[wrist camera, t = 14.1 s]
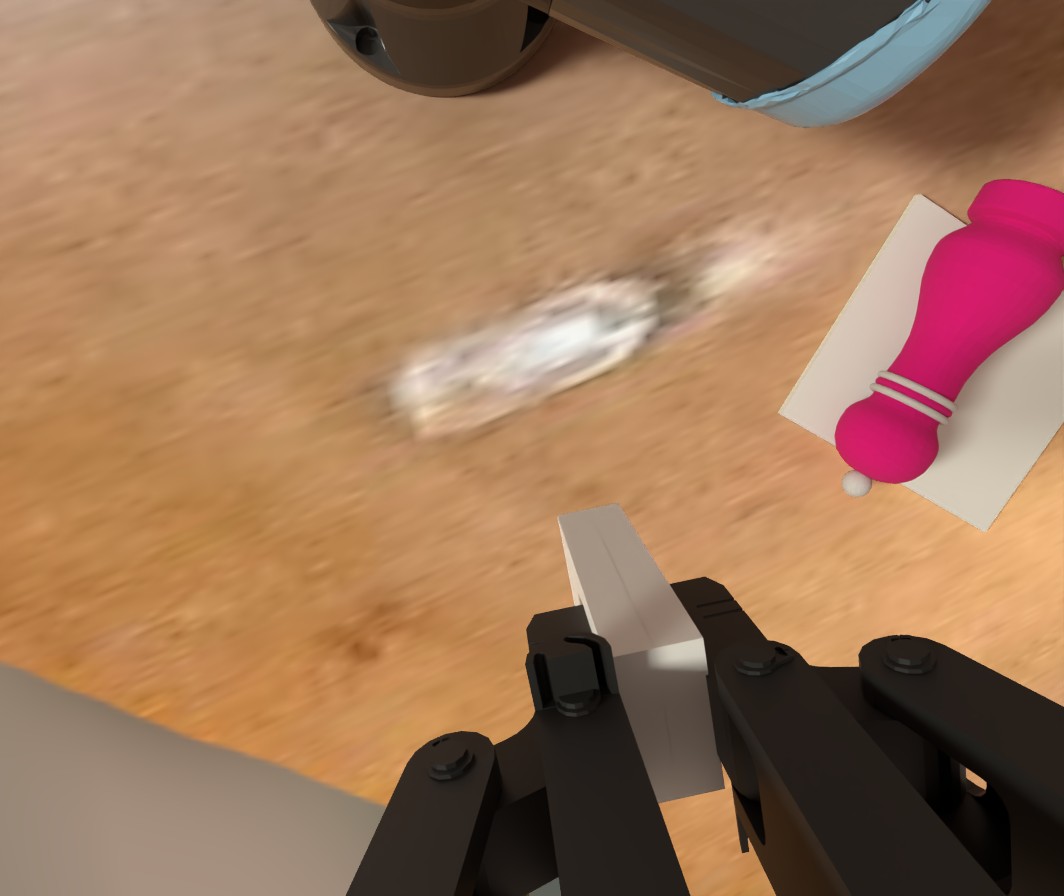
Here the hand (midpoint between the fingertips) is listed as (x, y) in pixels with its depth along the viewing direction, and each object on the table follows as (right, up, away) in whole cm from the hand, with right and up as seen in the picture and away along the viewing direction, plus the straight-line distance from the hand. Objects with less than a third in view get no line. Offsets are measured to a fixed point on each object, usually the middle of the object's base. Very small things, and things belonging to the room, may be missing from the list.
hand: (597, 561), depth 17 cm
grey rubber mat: (+27, +8, +31) cm, 41 cm away
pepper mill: (+28, +17, +24) cm, 41 cm away
